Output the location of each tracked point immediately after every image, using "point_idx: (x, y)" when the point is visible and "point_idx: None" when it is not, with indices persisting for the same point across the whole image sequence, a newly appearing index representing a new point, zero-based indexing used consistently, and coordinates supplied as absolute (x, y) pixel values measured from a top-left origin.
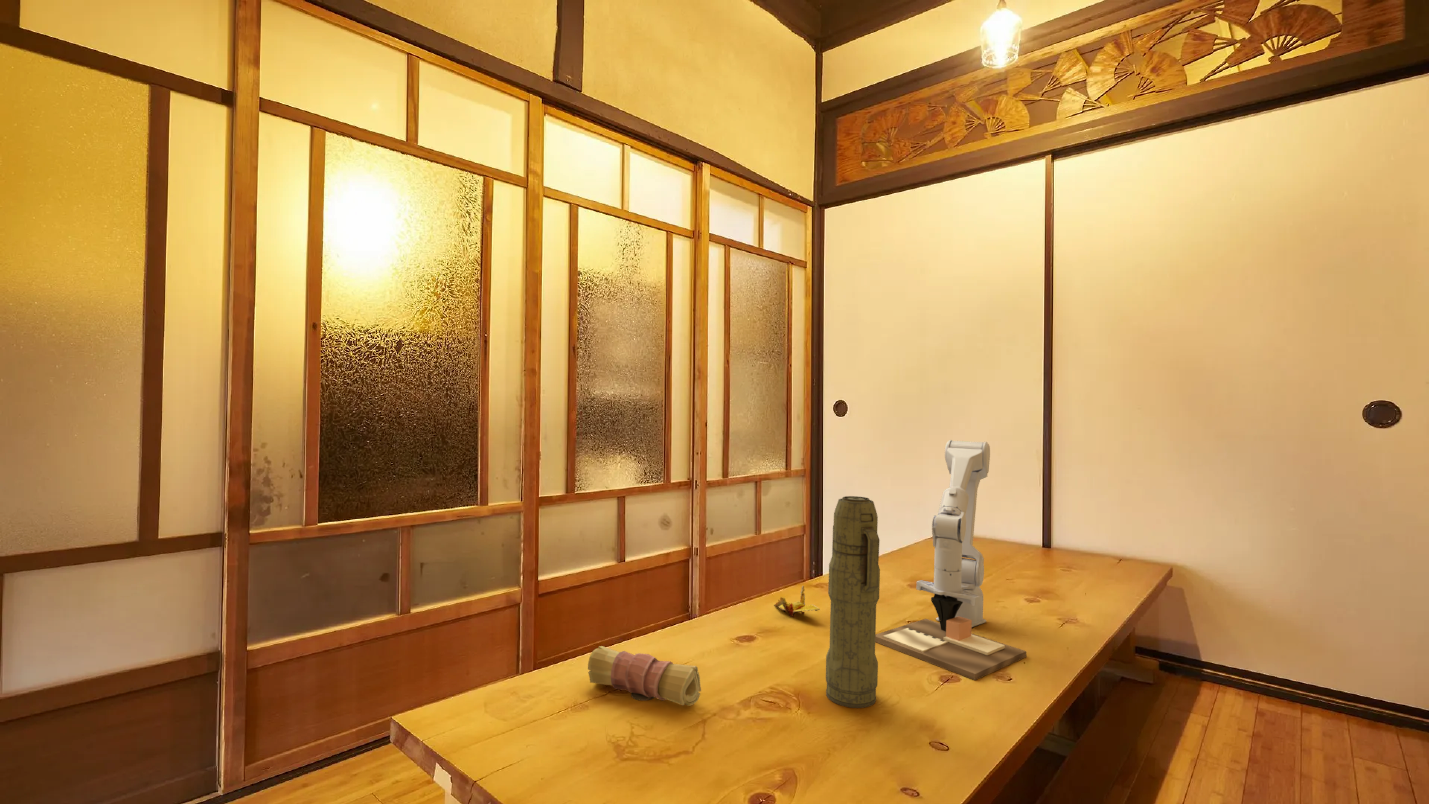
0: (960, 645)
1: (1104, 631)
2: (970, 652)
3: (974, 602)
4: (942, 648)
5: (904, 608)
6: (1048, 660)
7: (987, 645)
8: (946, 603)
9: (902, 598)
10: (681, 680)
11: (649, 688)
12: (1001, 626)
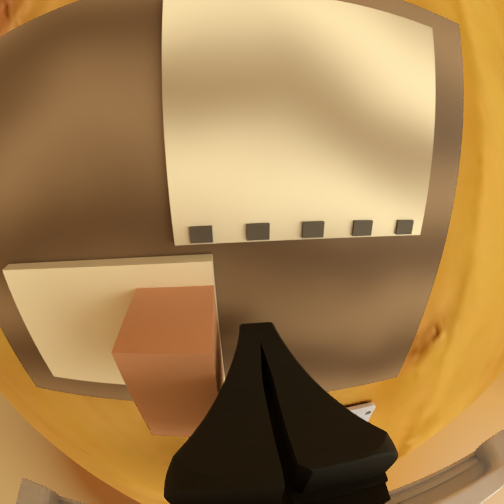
0: (111, 260)
1: (136, 499)
2: (45, 233)
3: (19, 499)
4: (133, 144)
5: (457, 381)
6: (23, 386)
7: (57, 335)
8: (202, 475)
9: (464, 405)
10: None
11: None
12: None
